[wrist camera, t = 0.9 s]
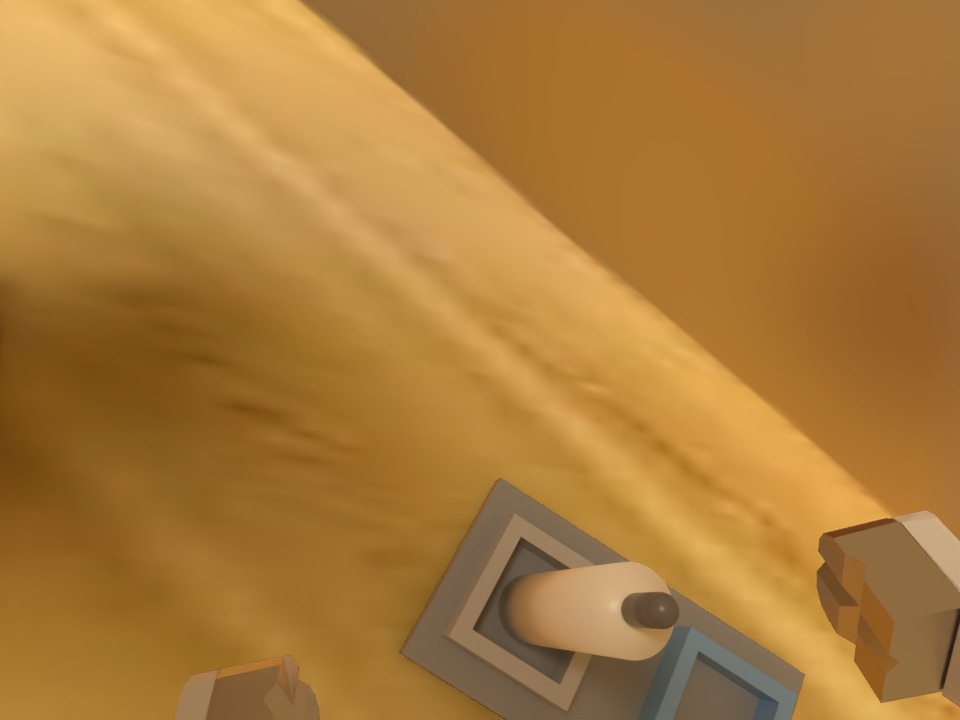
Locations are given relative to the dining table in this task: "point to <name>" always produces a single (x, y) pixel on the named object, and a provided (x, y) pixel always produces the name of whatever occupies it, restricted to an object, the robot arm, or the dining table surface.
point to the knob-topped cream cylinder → (591, 610)
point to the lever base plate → (574, 675)
